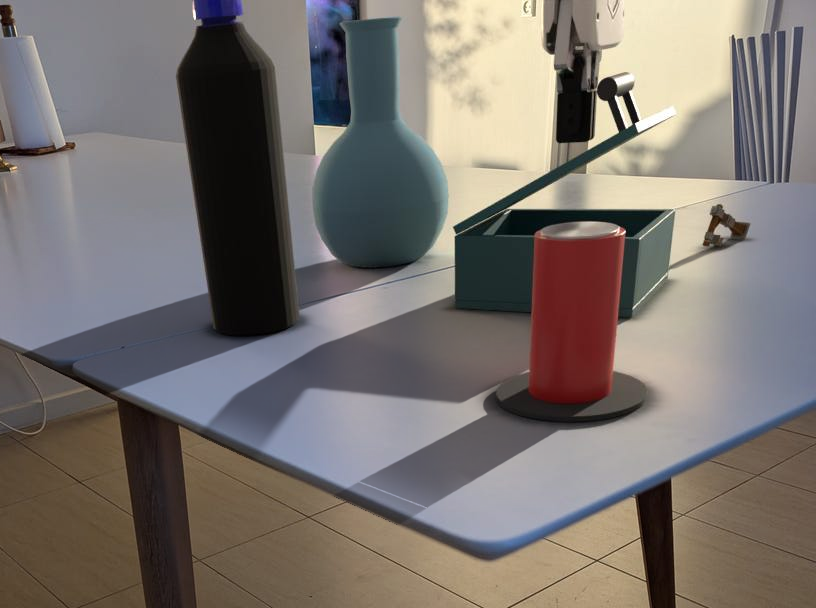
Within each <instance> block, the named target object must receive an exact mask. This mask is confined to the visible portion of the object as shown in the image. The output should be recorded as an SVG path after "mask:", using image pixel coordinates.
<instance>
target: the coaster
mask: <svg viewBox="0 0 816 608" xmlns="http://www.w3.org/2000/svg"><path fill="white" fill-rule="evenodd" d="M648 395H649V390H648V387H647V386H646V385H645V383H644V382H642V381H641V380H639V379H638V378H636V377H634V376H631V375H629V374H626V373H623V372H619V371H614V370H613V376H612V387H611V392H610V394H609V395H608V396H606V397H604V398H602V399H599V400H596V401H592V402H587V403H578V404H560V403H551V402H546V401H542V400H539V399H537V398H535V397H533V396H532V395H531V394H530V393H529V371H528V372H524V373H520V374H518V375H515V376H512V377H510V378H507V379H505V380H504V381H503V382H501V383H500V384H499V385H498V386H497V388H496V391H495V400H496V403H497V404H498V405H499V406H500V407H501V408H502V409H504V410H505V411H508V412H510V413H512V414H515V415H518V416H521V417H524V418H528V419H534V420H540V421H548V422H558V423H559V422H560V423H563V422H566V423H575V422H576V423H577V422H578V423H580V422H594V421H601V420H606V419H607V420H608V419H612V418H616V417H620V416H623V415H626V414H629V413H632V412H634V411H636V410H638V409H639V408H641V407H642V406H643V405H644V404H645V403H646V402H647V399H648Z"/></svg>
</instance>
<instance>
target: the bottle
mask: <svg viewBox="0 0 816 608" xmlns="http://www.w3.org/2000/svg"><path fill="white" fill-rule="evenodd" d="M191 2H192V14H193V20H196V21H198V20H199V21H200V24H201V25H196V26H195V32H194V37H193V38H192V40H191V43H190V45H189V47H188V48H187V50H186V52H185V53H184V55H183V56H182V58H181V60H180V62H179V64H178V67H177V68H176V74H175V80H176V86H177V94H178V100H179V107H180V114H181V121H182V126H183V133H184V139H185V147H186V153H187V160H188V161H187V162H188V166H189V173H190V179H191V186H192V187H191V188H192V193H193V198H194V199H193V200H194V208H195V213H196V221H197V226H198V233H199V239H200V247H201V253H202V260H203V266H204V267H203V268H204V272H205V279H206V286H207V287H206V288H207V293H208V300H209V306H210V313H211V321H212V326H213V329H214V330H215V331H217V332H218V333H219V334H223V335H226V336H227V335H228V336H236V337H237V336H238V337H246V336H259V335H261V336H262V335H267V334H273V333H276V332H277V333H278V332H280V331H284V330H286V329H289V328H291V327H293V326H295V325H296V324H297V322H299V320H300V307H299V297H298V288H297V287H298V286H297V278H296V277H297V276H296V268H295V267H296V266H295V258H294V250H293V249H294V247H293V237H292V228H291V217H290V208H289V197H288V187H287V178H286V177H287V176H286V167H285V156H284V155H285V154H284V146H283V137H282V136H283V135H282V125H281V117H280V107H279V106H280V105H279V96H278V95H279V94H278V85H277V76H276V67H275V65H274V62H273V60H272V59H271V58H270V56H269V55H268V54H267V52H266V51H265V50H264V49H263V48H262V47H261V46H260V44H258V43H257V42H256V41H255V39H254V38H253V37H252V35H250V33H249V32H248V31H247V30H246V27H245V25H244V22H243V21H237V17H241V16H244V10H243V3H242V0H191Z"/></svg>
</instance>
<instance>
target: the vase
mask: <svg viewBox="0 0 816 608" xmlns="http://www.w3.org/2000/svg"><path fill="white" fill-rule="evenodd" d="M403 19H404V17H403V16H400V15H399V16H388V17H387V16H386V17H378V18H377V17H376V18H366V19H365V18H364V19H355V20H347V21H341V22H339V26H340V27H341V29H342V30H343V31H344V32H345V52H346V53H345V57H346V69H347V82H348V94H349V95H348V96H349V103H350V121H349V123H348V125H347V126H346V128H345V130H344V131H343V132H342V133H341V134H340V135H339V137H337V138H336V139H335V140H334V141H333V142H332V144H331V145H330V146H329V148H328V149H327V150H326V152H325V153H324V154H323V156H322V158H321V159H320V162H319V164H318V166H317V169H316V171H315V176H314V178H313V179H314V180H313V183H312V184H313V185H312V187H311V206H312V212H313V219H314V225H315V227H316V230H317V232H318V234H319V236H320V238H321V240H322V242H323V244H324V245H325V247H326V248H327V250H328V251H329V253H330V254H331V256H333V257H334V258H335V259H337V260H338V261H339V262H341V264H344V265H347V266H350V267H354V268H355V267H357V268H385V267H386V268H387V267H388V268H389V267H394V266H401V265H405V264H409V263H412V262H415V261H417V260H419V259H421V258H422V257H424V256H425V255H426V254H428V252H429V251H430V250H431V249H432V248H434V246H435V245H436V242H437V240H438V239H439V237H440V235H441V233H442V231H443V229H444V227H445V226H444V225H445V224H446V220H447V218H448V213H449V201H450V200H449V199H450V194H449V183H448V178H447V175H446V173H445V170H444V167H443V163H442V162H441V160H440V159H439V157H438V156H437V153H436V152H435V151H434V149H433V148H432V147H431V145H429V144H428V142H426V140H425V139H424V138H423V137H422V136H421V135H420V134H418V133H417V132H415V131H414V130H412V129H411V128H410V127H409V126H408V125H407V123H405V121H404V120H403V118H402V115H401V111H400V47H399V46H400V45H399V32H398V28H399V26H400V24H401V22H402V20H403Z"/></svg>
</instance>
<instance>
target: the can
mask: <svg viewBox="0 0 816 608" xmlns="http://www.w3.org/2000/svg"><path fill="white" fill-rule="evenodd" d="M624 242H625V229H624V228H622V227H619V226H618V225H616V224H612V223H606V222H570V223H561V224H556V225H551V226H548V227H545V228H543V229H542V230H539V231H537V232H536V233H535V237H534V263H533V289H532V312H531V317H530V318H531V319H530V321H531V322H530V340H529V341H530V342H529V343H530V344H529V368H528V369H529V370H528V372H529V393H530V394H531V395H532V396H533V397H535V398H537V399H539V400H542V401H546V402H551V403H560V404H578V403H587V402H592V401H596V400H599V399H602V398H604V397H606V396H608V395H609V394H610V392H611V387H612V376H613V371H614V364H615V354H616V353H615V352H616V342H617V331H618V320H619V317H618V309H619V298H620V287H621V275H622V264H623V253H624Z"/></svg>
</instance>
